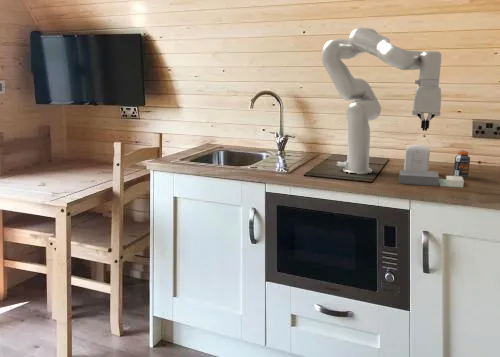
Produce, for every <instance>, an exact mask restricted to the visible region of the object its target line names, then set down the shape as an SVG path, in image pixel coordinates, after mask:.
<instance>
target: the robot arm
mask: <svg viewBox="0 0 500 357" xmlns="http://www.w3.org/2000/svg"><path fill="white" fill-rule="evenodd" d="M364 53H367V54H369V55H372V56H373V57H376V58H378V59H379V60H380V61H382V62H383V63H384V64H387V65H389V66H392V67H394V68H396V69H400V70H401V71H417V70H419V74H418V75H419V77H418V79H417V80H414V84H415V85H416V84H417V85H418V86H417V87H416V89H415V92H414V97H413V98H414V99H413V106H412V107H413V108H412V112H411V115H412V116H416V117H418V118H419V120H421V121H420V122H421V123H420V128H421V129H422V131H423V132H424V131H426V132H427V131H428V129H430V121H431V120H433V118H436V117H440V116H441V107H442V89H441V88H442V87H440V86H439V85H440V76H441V64H442V53H441V52H440V51H436V50H434V51H433V50H432V51H431V50H426V51H425V50H424V51H422V50H414V49H413V50H407V49H403V48H401V47H398V46H396V45H394V44H392V43H391V40H390V39H389V38H388V37H386V36H384V35H381V34H379V33H378V32H377V30H375V29H373V28H370V27H369V28H368V27H357V28H355V29H353V30H352V31H351V32H350V35H349V38H348V39H347V38H345V39H343V38H334V39H331V40H328V41H327V42H326V43H325V44H324V45H323V48H322V50H321V62H322V64H323V67H324V69H325V71H326V72H327V73H328V76H329V77H330V79H331V81H332V84H333V85H334V87H335V90H336V91H337V92H338V95H339V96H340V98H341V99H342V100H344V101H348V102H349V101H352V102H351V103H350V104H349V105H348V106H347V109H346V120H347V152H346V153H347V155H346V156H347V157H346V161H337V162H336V166H337V167H343V168H342V172H344V173H346V172H348V173H347V174H350V173H357V174H356V175H369V174H372V172H373V169H372V168H370V164H369V163H370V148H371V128H370V124H369V122H370V121H374V120H376V119H377V118H379V117H380V115H381V110H382V107H381V104H380V102H379V100H378V98H377V96H376V94H375V93H374V91H373V89H372V88H371V85H370V84H369V83H368V82H367V81H366V79H363V78H355V76H353V74H352V73H351V72H350V70H349V68H348V66H347V65H346V64H345V63H344V62H343V60H350V59H354V58H356V57H357V56H360V55H362V54H364ZM425 114H427V118H425ZM368 173H369V174H368Z"/></svg>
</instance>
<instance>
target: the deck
mask: <svg viewBox="0 0 500 357" xmlns="http://www.w3.org/2000/svg"><path fill="white" fill-rule="evenodd" d="M439 179H440V175H439V172H438V171H432V170H428V171H416V170H404V169H399V177H398V184H399V185H400V184H403V185H417V186H418V185H419V186H436V187H437V186H440V185H439Z"/></svg>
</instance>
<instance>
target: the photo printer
mask: <svg viewBox="0 0 500 357" xmlns="http://www.w3.org/2000/svg"><path fill="white" fill-rule="evenodd" d="M404 152H405V153H404V167H403V170H416V171H429V166H430V155H431V154H430V152H431V150H430V147H429V146H426V145H423V144H410V145H407V146H406V149H405V151H404Z"/></svg>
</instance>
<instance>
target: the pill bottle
mask: <svg viewBox="0 0 500 357" xmlns="http://www.w3.org/2000/svg"><path fill="white" fill-rule="evenodd" d="M453 164H454V166H453V175H452V176H460V177H462V178H463V180H464V179H468V178H469V172H470V165H471V157H470V156H469V151H468V150H461V149H460V150H458V151H457V155H455V157H454V163H453Z"/></svg>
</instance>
